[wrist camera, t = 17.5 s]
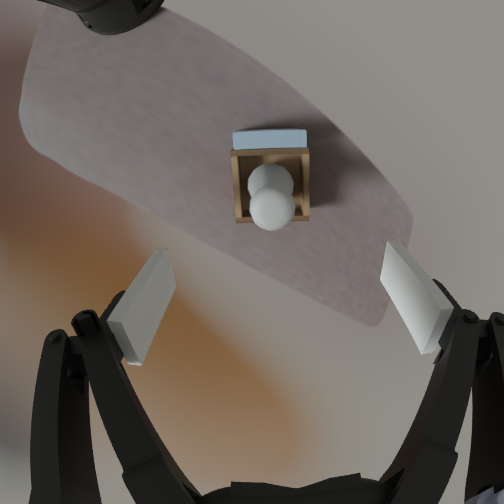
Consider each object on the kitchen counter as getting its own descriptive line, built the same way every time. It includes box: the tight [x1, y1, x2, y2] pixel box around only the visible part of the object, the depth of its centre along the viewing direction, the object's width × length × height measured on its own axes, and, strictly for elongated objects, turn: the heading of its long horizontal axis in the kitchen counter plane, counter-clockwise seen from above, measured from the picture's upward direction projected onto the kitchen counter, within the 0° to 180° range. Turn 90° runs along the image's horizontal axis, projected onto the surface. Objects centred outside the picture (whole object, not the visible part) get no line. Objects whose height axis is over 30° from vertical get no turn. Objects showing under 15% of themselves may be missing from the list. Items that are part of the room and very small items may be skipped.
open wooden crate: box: [231, 147, 310, 223], centre depth 35 cm, size 10×10×5 cm
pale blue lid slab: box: [233, 128, 307, 150], centre depth 31 cm, size 2×8×8 cm, turn 93°
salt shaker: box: [248, 163, 296, 231], centre depth 30 cm, size 6×6×13 cm
